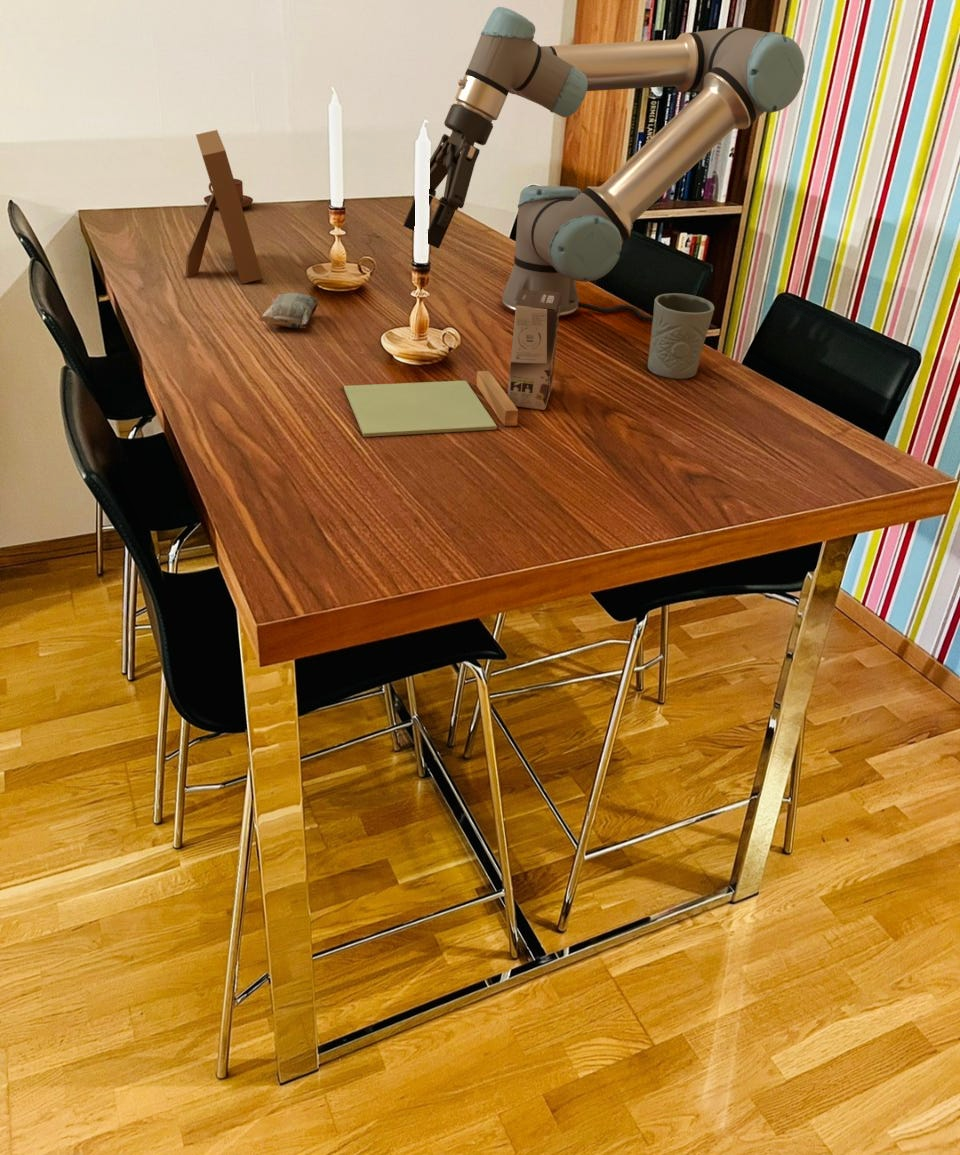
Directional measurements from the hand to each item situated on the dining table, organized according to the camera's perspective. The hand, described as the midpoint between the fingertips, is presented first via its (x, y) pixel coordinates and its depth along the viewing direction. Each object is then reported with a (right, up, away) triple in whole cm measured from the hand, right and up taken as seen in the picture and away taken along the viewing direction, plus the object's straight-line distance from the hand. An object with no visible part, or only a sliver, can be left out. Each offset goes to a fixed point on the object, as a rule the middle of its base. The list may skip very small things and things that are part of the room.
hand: (420, 237), depth 170 cm
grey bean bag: (-25, -11, +14) cm, 30 cm away
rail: (+13, -30, -12) cm, 35 cm away
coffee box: (+18, -29, -9) cm, 35 cm away
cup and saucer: (-53, +36, +84) cm, 106 cm away
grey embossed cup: (+44, -21, +6) cm, 49 cm away
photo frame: (-44, +7, +39) cm, 59 cm away
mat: (+1, -32, -15) cm, 35 cm away
